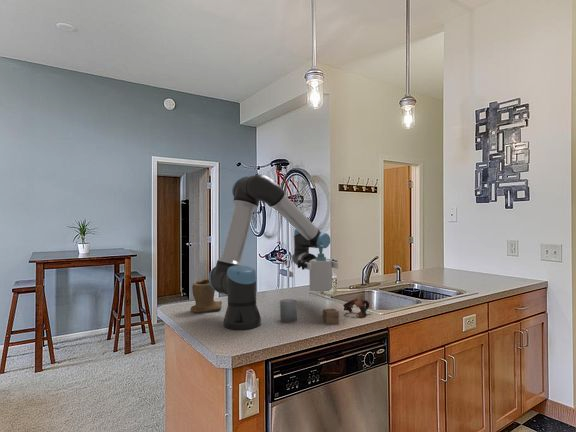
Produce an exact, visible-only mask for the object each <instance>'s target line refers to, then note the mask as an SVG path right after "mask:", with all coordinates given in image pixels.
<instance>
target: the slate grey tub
mask: <svg viewBox="0 0 576 432" xmlns="http://www.w3.org/2000/svg"><path fill="white" fill-rule="evenodd" d="M297 309H298V308H297V300H296V299H293V298H289V299H288V298H287V299H281V300H280V301H279V311H280V312H279V313H280V314H279V317H280V322H282V321H283V323H294V322H296V321H297V320H298V318H297V317H298V315H297V314H298V312H297V311H298V310H297Z"/></svg>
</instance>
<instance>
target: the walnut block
mask: <svg viewBox="0 0 576 432" xmlns="http://www.w3.org/2000/svg"><path fill="white" fill-rule="evenodd" d="M339 312H340V311H338V310H337V309H336V308H327V309H325V308H324V309H322V322H323V323H324V324H325V325H327V326H328V325H329V324H330V325H338V324H339V323H340V317H339V314H340V313H339Z"/></svg>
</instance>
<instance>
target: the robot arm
mask: <svg viewBox="0 0 576 432" xmlns="http://www.w3.org/2000/svg"><path fill="white" fill-rule="evenodd" d="M231 193H232V196H233V200H232V202H233V204H234V210H233V213H232V217H231V221H230V226H229V229H228V232H227V237H226V240H225V244H224V248H223V251H222V255H221V257H220V258H219V259H217V261H216V265H215V266H214V267H213V268H211V270H210V271H209V274H208V279H209V283H210V286H211V287H212V288H213V289H214V290H215V292H217V293H218V294H224V295H226V296H227V308H226V311H225V315H224V317H223V327H224V328H225V329H228V330H235V331H237V330H250V329H251V330H252V329H255V328H257V327H259V326H261V325H262V318H261V315H260V311H259V308H258V305H257V274H256V273H257V272H256V270H255V267H254V268H253V267H252V266H249V265H243V264H242V257H243V253H244V250H245V245H246V241H247V238H248V233H249V230H250V225H251V222H252V220H253V219H252V218H253V215H254V212H255V210H257V209H258V208H259V204H260V202H263V203H265V204H266V205H268V207H270V208H274V209H275V210H276V211H277V212H278V213H279V214H280V215H281V216H282V217H283V218H284V219H285V220H286V221H287V222H288V223H289V224H290V225H291V226H292V227H293V228H294V229H293V230H294V233H293V243H294V245H293V249H294V251H293V254H292V262H293V263H294V264H295V265H296V266H297V269H301V270H303V271H305V270H311V263H309V261H310V260H312V259H316V257H317V256H316V255H315V254H312V253H310V248H314V249H319V247H318V246H321V245H323V249H326V248H328V247H329V246H330V244H331V237H330V234H328V233H327V232H321V231H320V230H319V228H318V227H316V226H315V225H314V224H313V223H312V221H311V220H310V219H309V218H308V217H307V216H306V215H305V214H304V213H303V212H302V211H301V210H300V209H299V208H298V207H297V206H296V205H295V204H294V202H293V201H292V200H291V199H290V198H288V196H287V195H286V191H285V190H284V188H282V186H280V185H279V184H278V183H277V182H276V181H275V180H273V179H272V178H271V177H269V176H267V175H265V174H260V173H259V174H258V173H257V174H254V175H249V176H243V177H241V178H238V179H237V180H236V181H235V182H234V184H233V185H232V188H231ZM331 259H332V258H331ZM332 269H336V270H338V269H339V262H338V260H335V259H332Z"/></svg>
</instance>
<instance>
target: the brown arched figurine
mask: <svg viewBox="0 0 576 432" xmlns="http://www.w3.org/2000/svg"><path fill="white" fill-rule="evenodd" d="M342 306H343V311H344V312H345V311H347V312H349V314H350V313H352V312H353V308H354V306H355V307H357V308H359V310H360V311H358V312H357V317H358V318H359V319H360V318H363V317H365V316H367V311H368V309H369V308H370V302H369V300H366V299H363V300H359V298H357V297H356V298H353V299H352V300H349V301H348V302H345V303H344V304H342Z"/></svg>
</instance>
